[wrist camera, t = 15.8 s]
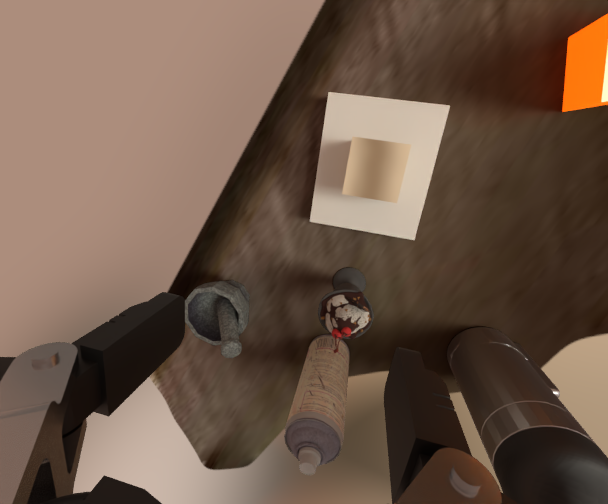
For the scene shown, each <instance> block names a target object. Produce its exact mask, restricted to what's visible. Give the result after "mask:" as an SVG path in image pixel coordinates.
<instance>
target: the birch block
mask: <svg viewBox="0 0 608 504" xmlns="http://www.w3.org/2000/svg"><path fill="white" fill-rule="evenodd" d="M410 148H411V145H410V144H403V143H396V142H389V141H382V140H374V139H367V138H360V137H353V136H352V142H351V147H350V153H349V158H348V164H347V169H346V175H345V180H344V186H343V191H342V194H345V195H350V196H356V197H362V198H368V199H374V200H380V201H386V202H392V203H397V201H398V197H399V193H400V189H401V185H402V181H403V177H404V173H405V168H406V164H407V160H408V156H409V152H410Z"/></svg>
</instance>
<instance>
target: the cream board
mask: <svg viewBox="0 0 608 504" xmlns="http://www.w3.org/2000/svg"><path fill="white" fill-rule="evenodd" d="M449 108H450V106H449V105H440V104H431V103H422V102H413V101H404V100H395V99H386V98H378V97H369V96H360V95H351V94H342V93H333V92H329V93H328V99H327V106H326V113H325V120H324V127H323V134H322V141H321V147H320V154H319V161H318V168H317V175H316V182H315V189H314V195H313V202H312V209H311V216H310V222H315V223H321V224H326V225H332V226H337V227H343V228H349V229H354V230H360V231H366V232H371V233H377V234H382V235H388V236H394V237H399V238H405V239H411V240H414V239H415V236H416V232H417V228H418V224H419V221H420V217H421V213H422V209H423V206H424V202H425V198H426V194H427V191H428V187H429V183H430V179H431V176H432V172H433V168H434V164H435V161H436V157H437V153H438V149H439V146H440V142H441V138H442V134H443V131H444V127H445V123H446V119H447V116H448V112H449ZM352 136H353V137H360V138H367V139H374V140H382V141H389V142H396V143H403V144H410V145H411V148H410V152H409V156H408V160H407V164H406V168H405V173H404V177H403V181H402V185H401V189H400V193H399V197H398V201H397V203H392V202H386V201H380V200H374V199H368V198H362V197H356V196H350V195H345V194H342V191H343V186H344V180H345V175H346V169H347V164H348V158H349V153H350V147H351V142H352Z"/></svg>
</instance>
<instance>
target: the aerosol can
mask: <svg viewBox="0 0 608 504" xmlns="http://www.w3.org/2000/svg"><path fill="white" fill-rule="evenodd" d="M339 339H340V338H339ZM339 339H336V340H337V343H336V344H337V345H338V341H339ZM335 349H336V346H335V338H334V337H333V336H332V335H331V334H323V335H320V336H317V337H316V338H314V339H313V341H312V342H311V343H310V346H309V350H308V353H307V357H306V360H305V363H304V367H303V370H302V373H301V377H300V380H299V383H298V387H297V390H296V393H295V397H294V400H293V403H292V407H291V410H290V413H289V417H288V420H287V424H286V428H285V431H286V432H285V436H284V437H285V443H286V445H287V447H288V449H289V450H290V452H292V454H294V456H295V457H296V458H297V459H298V460H299V461H300V466H299V469H300V471H301V472H302V473H304V474H306V475H312V474H314V473H315V471H316V466H319V465H322V464H327V463H329V462H332V461H334V460H335V459H336V458H337V457H338V456H339V454H340V451H341V446H342V442H343V436H344V423H345V410H346V396H347V382H348V370H349V357H350V354H349V348H348V346H347V344H346V343H345V342H344V341H343V340H342V339H341V340H340V342H339V346H338V349H339V351H338V352H337V353H334V350H335Z"/></svg>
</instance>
